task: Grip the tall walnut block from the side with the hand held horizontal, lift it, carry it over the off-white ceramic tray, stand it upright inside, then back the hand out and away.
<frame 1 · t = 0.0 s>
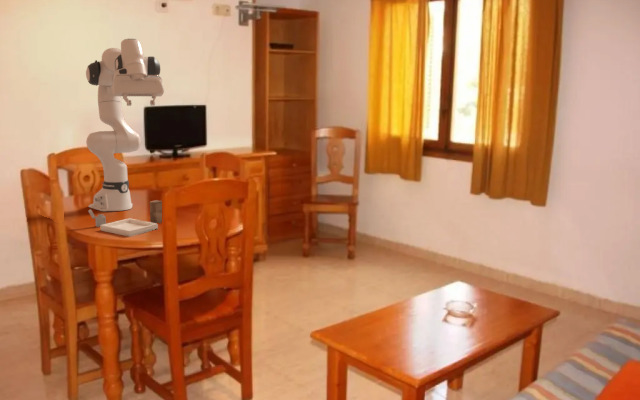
hand: (141, 105, 244), 54 cm above the table, tool tilted 30°, fingers open, 8 cm apart
lighter: (97, 226, 266), on the table
tray: (129, 229, 261), on the table
walnut block: (156, 222, 274), on the table
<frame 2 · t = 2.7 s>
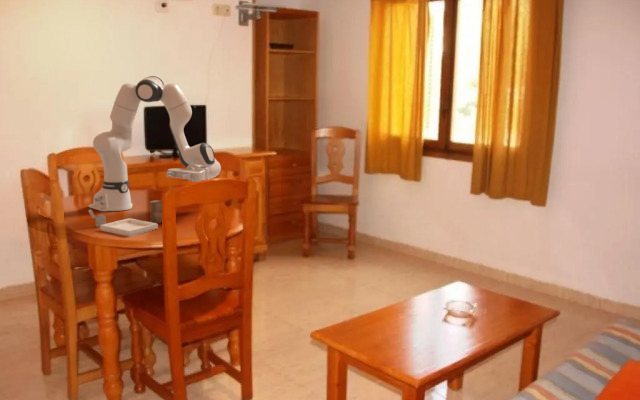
hand: (174, 176, 280), 20 cm above the table, tool horizontal, fingers open, 8 cm apart
nothing on the table moved.
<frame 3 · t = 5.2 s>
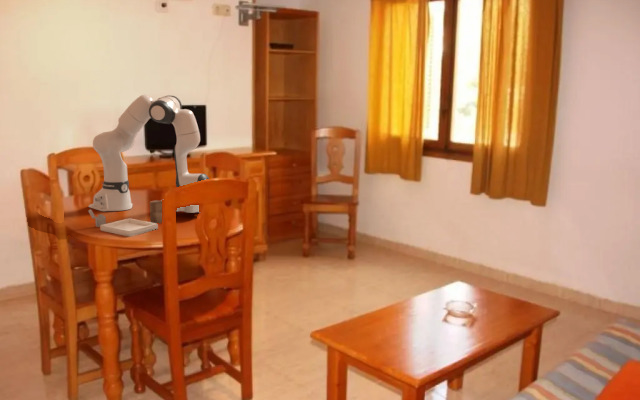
hand: (168, 208, 280), 5 cm above the table, tool horizontal, fingers open, 8 cm apart
nothing on the table moved.
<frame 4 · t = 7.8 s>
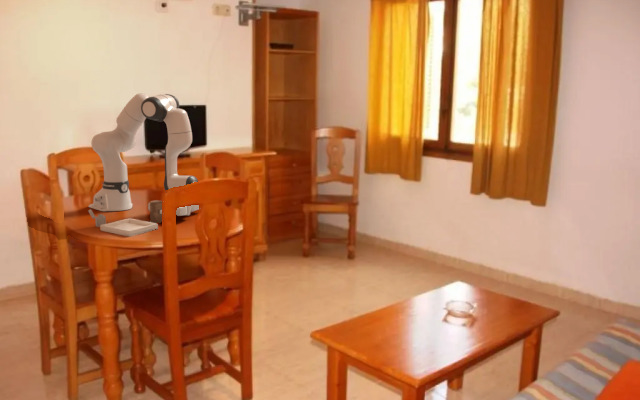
hand: (155, 211, 272), 6 cm above the table, tool horizontal, fingers closed on walnut block, 4 cm apart
walnut block: (156, 222, 274), on the table, touching gripper
everything else where it was.
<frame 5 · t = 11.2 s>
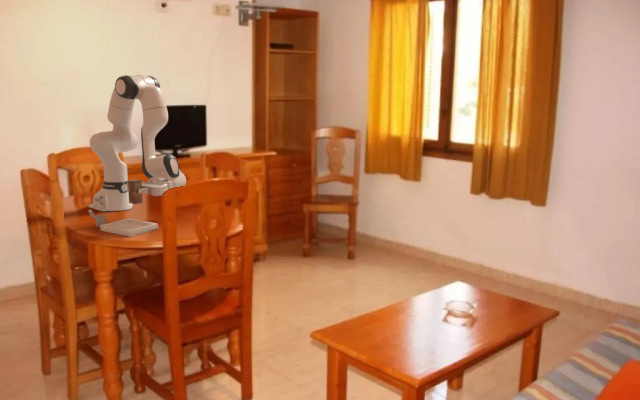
hand: (133, 190, 260), 17 cm above the table, tool horizontal, fingers closed on walnut block, 4 cm apart
walnut block: (135, 202, 262), point 11 cm above the table, touching gripper
everything else where it was.
when the fingers open (8 cm above the table, at t = 14.5 s): walnut block drops 1 cm, resting on tray.
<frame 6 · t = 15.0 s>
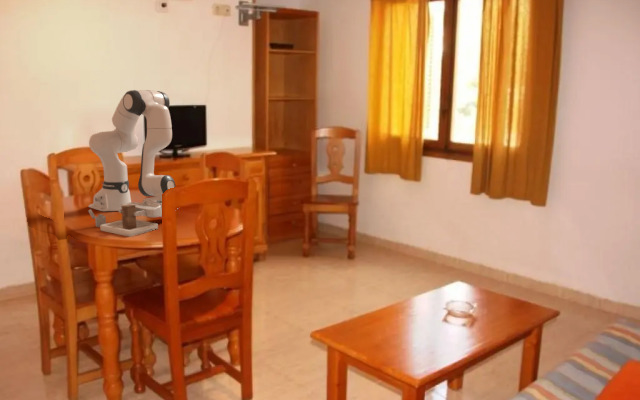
hand: (127, 212, 259), 8 cm above the table, tool horizontal, fingers open, 8 cm apart
walnut block: (129, 227, 261), point 1 cm above the table, touching tray
everything else where it was.
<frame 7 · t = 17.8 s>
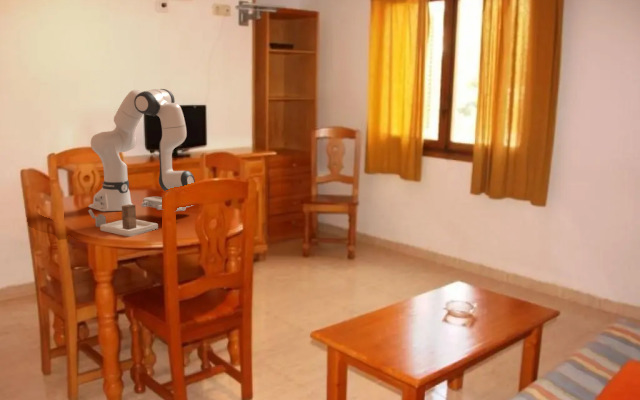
hand: (149, 206, 270), 8 cm above the table, tool horizontal, fingers open, 8 cm apart
nothing on the table moved.
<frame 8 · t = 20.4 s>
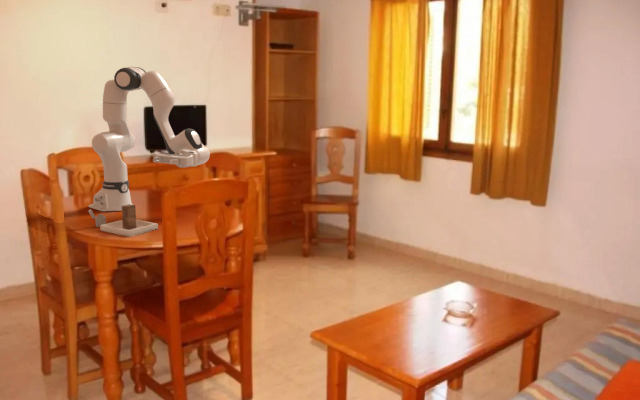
hand: (161, 161, 272), 28 cm above the table, tool horizontal, fingers open, 8 cm apart
nothing on the table moved.
at the end: walnut block inside the target area on the tray (0.0 cm from its centre), point 0.8 cm above the tray's base; walnut block tilted 0°; the gripper is holding nothing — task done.
